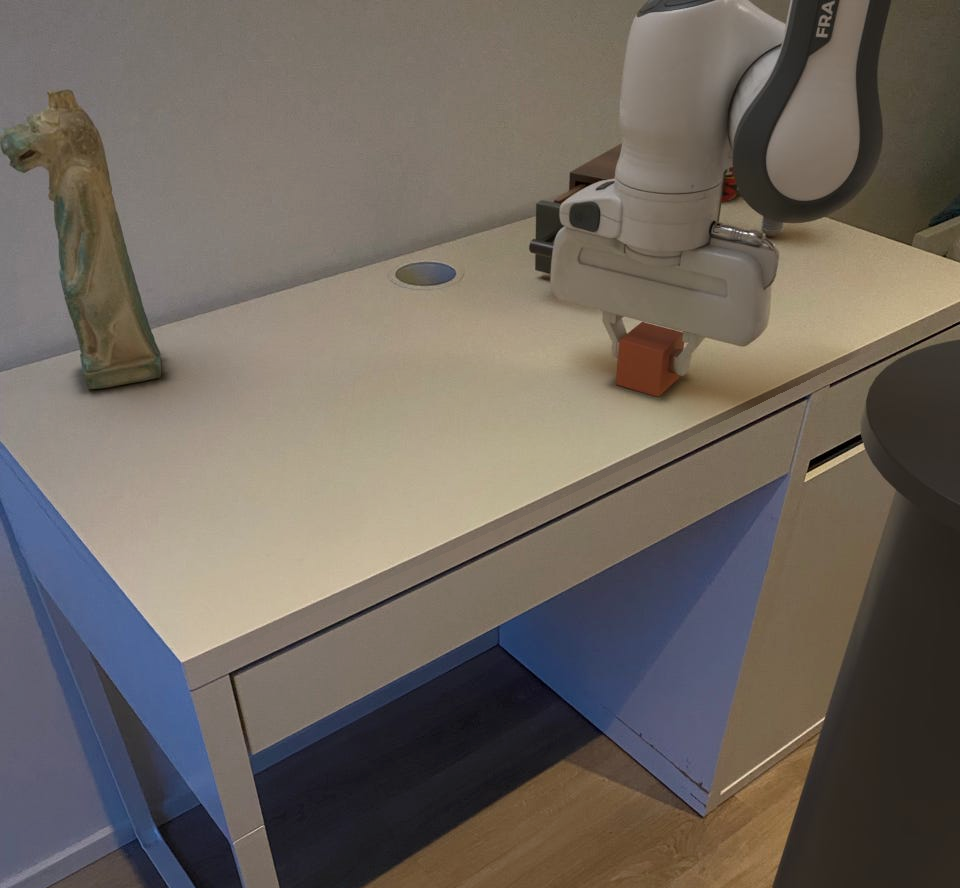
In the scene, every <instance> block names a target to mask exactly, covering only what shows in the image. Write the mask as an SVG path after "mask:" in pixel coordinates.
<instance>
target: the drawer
mask: <svg viewBox="0 0 960 888" xmlns="http://www.w3.org/2000/svg"><path fill="white" fill-rule="evenodd" d="M590 185H592V184H590V183H585V182H583V183H581V184H580V185H578V186H576V187H575V188H573V189H571V190H569V189H568V191H566V192H563V194H561V195H559V196H557V197H555V198H554V199H553V201H548V200H544V199H541V200H539V201H538V202H535V238H533V239H531V240H530V241H529V245H528V250H529V252H530V254H534V255H535V257H534V271H537V272H541V273H545V274H549V275H551V261H552V253H553V246H554V241H555V238H556V235H557V233H558V232H559V230H560V229H561V228H563V227H564V226H563V225H562V223H561V221H560V215H559V213H560V206H561V204H562V203H563V202H564V201H565V200H566V199H568V198H569V197H571V196H572V195H573V194H575V193H577V192H578V191H580V190H582V189H584V188H586V187H588V186H590Z"/></svg>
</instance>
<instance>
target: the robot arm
mask: <svg viewBox="0 0 960 888" xmlns="http://www.w3.org/2000/svg"><path fill="white" fill-rule="evenodd" d="M789 1H790V2H789V6H788V12H787V16H786V21H785V22H783V21H782V20H779V19H777V18H775V17H774V16H772V15H770V14H769V13H767V12H765V11H764V10H762V9H761V8H759V7H758V6H756V5H755V4H754V3H753V2H751V1H750V0H647V1H646V2H644V4H643V5H642V6H641V8H639V10H638V11H637V13H636V14H635V17H634V18H633V20H632V23H631V27H630V30H629V34H628V37H627V42H626V49H625V54H624V61H623V68H622V76H621V85H620V97H619V108H618V120H619V121H618V122H619V126H620V127H619V128H620V131H621V143H622V148H621V153H620V157H619V159H618V162H617V165H616V170H615V179H609V180H603V181H599V182H597V183H594V184H592V185H590V186H588V187H586V188H584V189H582V190H580V191H578V192H577V193H575V194H573V195H572V196H571V197H569V198H568V199H566V200H565V201H564V202H563V203H562V204H561V206H560V213H559V215H560V221H561V223H562V225H563V226H564V227H563V228H561V229H560V230H559V232H558V233H557V235H556V238H555V241H554V246H553V253H552V261H551V274H550V288H551V290H552V292H553V293H554V295H555V297H556V299H557V300H560V301H563V302H567V303H571V304H575V305H577V306H582V307H586V308H589V309H593V310H598V311H601V312H602V319H601V321H602V323H603V326H604V328H605V330H606V332H607V334H608V337H609V339H610V341H611V352H610V353H611V357H612V358H616V359H618V352H619V340H620V339H621V338H623V337H624V336H625V335H626V334H627V333H628V332H627V330H626V327H625V324H624V321H623V319H622V318H628V319H632V320H636V321H641V322H645V323H649V324H653V325H657V326H660V327H664V328H668V329H672V330H676V331H680V332H683V339H682V341H683V342H684V344H686V346H684V348H683V350H682V349H677V350H676V351H675V352H674V353H673V354H671V355H670V356H669V366H668V372H670V373H673V374H677V375H680V377H684V376H685V375H686V374H687V373H688V372H689V370H690V368H691V363H692V362H691V361H692V356H693V354H694V352H695V351H696V350H697V348H698V347H699V346H700V345H701V344H702V342H704V340H705V339H710V340H714V341H716V342H717V341H718V342H721V343H725V344H729V345H733V346H737V347H740V348H741V347H742V348H745V347H747V346H749V345H751V344H752V343H753V342H754V341H756V340H757V339H758V338H759V337H760V336H761V335H762V334H763V333H764V332H765V331H766V330H767V327H768V325H769V320H770V314H771V313H770V312H771V306H772V305H771V303H772V284H773V283H774V281H775V279H776V278H777V274H778V273H777V272H778V266H779V262H780V251H779V250H778V248H777V246H776V244H775V243H774V242H773V241H772V240H770V239H769V238H768V237H767V235H766V234H765V233H764V232H763V231H761V230H758V229H757V230H756V229H745V228H741V227H738V226H735V225H731V224H728V223H722V222H719V223H718V222H717V220H718V213H719V205H720V198H721V191H722V183H723V176H724V171H725V170H726V169H728V168H730V167H733V173H734V178H735V182H736V185H737V191H738V192H739V194H740V196H741V198H742V199H743V200H744V202H745V203H746V204H747V206H749V207H750V208H751V209H752V210H753V211H754V212H755V213H757V214H759V215H760V216H762V217H763V216H764V217H766V218H768V219H771V220H774V221H777V222H782V223H783V224H804V223H810V222H814V221H817V220H821V219H823V218H826V217H828V216H830V215H832V214H834V213H836V212H837V211H839V210H841V209H842V208H843V207H845V206H847V205H848V204H849V203H850V202H851V201H852V200H853V199H855V197H857V195H859V193H860V192H861V191H862V190H863V189H864V187H865V186H866V185H867V183H868V182H869V181H870V179H871V177H872V176H873V174H874V172H875V170H876V168H877V165H878V163H879V161H880V156H881V152H882V148H883V147H882V146H883V137H884V128H883V127H884V125H883V116H882V115H883V114H882V110H881V102H880V94H879V84H878V73H879V72H878V71H879V70H878V69H879V59H880V53H881V47H882V42H883V38H884V33H885V30H886V29H885V28H886V25H887V22H888V21H887V20H888V16H889V13H890V8H891V3H892V0H789ZM764 244H765V245H764Z"/></svg>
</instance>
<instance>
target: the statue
mask: <svg viewBox="0 0 960 888" xmlns="http://www.w3.org/2000/svg"><path fill="white" fill-rule="evenodd" d="M46 93H47V97H48V98H47V107H46V108H45V109H44V110H43V111H41V112H40V114H39V113H30V114H29V115H28V116H27V117H26V122H27V123H19V124H16V125H13V126H10V127H7V128H6V127H3V128H2V131H1V132H0V149H1V153H2V154H3V155H4V156H7V158H8V159H9V160H10V161H9V166H10V167H11V168H13V169H14V170H16V171H17V172H19V173H22V174H25V173H28V172H29V171H31V170H33V169H36V168H38V167H42V168H43V169H45V170H47V171H48V182H49V183H48V184H49V186H48V190H49V192H48V199H49V201H52V202H53V215H54V216H53V219H54V225H55V230H56V234H57V239H58V259H59V266H60V268H59V270H58V274H59V279H60V284H61V288H62V293H63V296H64V301H65V304H66V308H67V310H68V314H69V315H68V316H69V317H70V319H71V321H72V325H73V329H74V332H75V335H76V338H77V342H78V345H79V346H78V347H79V350H80V354H79V359H80V365H81V369H82V373H83V375H82V376H83V378H84V383H85V385H86V387H87V389H89V390H95V389H105V388H112V387H116V386H122V385H127V384H128V385H129V384H133V383H138V382H144V381H149V380H154V379H155V380H156V379H159V378H161V375H162V358H161V351H160V349H159V346H158V345H157V343H156V338H155V336H154V333H153V332H152V327H151V325H150V323H149V320H148V317H147V314H146V311H145V308H144V305H143V300H142V297H141V293H140V290H139V287H138V283H137V281H136V276H135V272H134V270H133V266H132V263H131V259H130V256H129V253H128V249H127V245H126V243H125V237H124V232H123V229H122V225H121V221H120V218H119V217H120V216H119V214H118V211H117V209H116V203H115V202H116V201H115V198H114V195H113V187H112V182H111V176H110V171H109V166H108V162H107V157H106V150H105V147H104V143H103V140H102V137H101V134H100V131H99V130H98V128H97V127H96V125H95V123H94V121H93V120H92V119H91V116H90V115H89V114H88V113H87V112H86V111H85V109H83V108H82V107H81V106H80V105H79V104H78V102H77V100H76V97H75V94H74V92H73V90H71V89H62V90H50V89H48V90H47V92H46Z"/></svg>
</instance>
